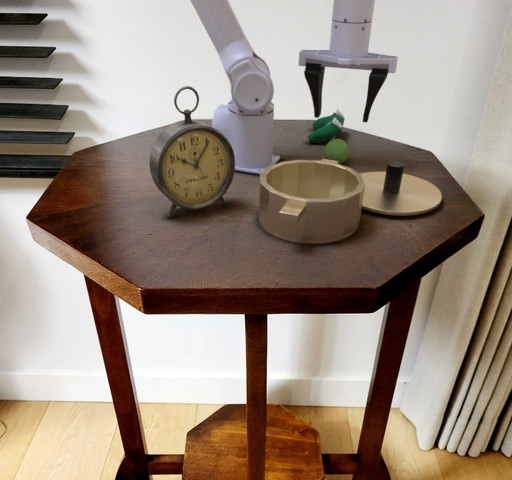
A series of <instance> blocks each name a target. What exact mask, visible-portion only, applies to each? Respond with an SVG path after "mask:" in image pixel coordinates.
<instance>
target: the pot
mask: <svg viewBox="0 0 512 480" xmlns="http://www.w3.org/2000/svg"><path fill="white" fill-rule="evenodd" d="M360 174H361V173H359V172H358V171H356V170H354V169H353V168H352V167H349V166H345V165H342V164H341V163H340V164H338V161H334V160H328V159H326V158H322V159H321V160H320V159H294V160H293V159H292V160H287V161H280V162H277V163H276V164H275V165H273V166H270V167H267V168H266V169H265V170H264V171H263V172H262V173H261V174H259V191H258V192H259V193H258V218H259V219H258V221H259V224H260V226H261V227H262V229H263V230H264V231H265V232H267V233H268V234H270V235H271V236H273V237H274V238H275V237H276V238H278V239H280V240H283V241H285V242H290V243H294V244H295V243H296V244H302V245H325V244H332V243H336V242H339V241H340V242H341V241H342V240H346V239H348V238H349V237H351V236H352V235H353V234H355V233H356V232H357V230H358V227H359V225H360V221H361V216H362V210H363V209H362V202H363V196H364V189H365V182H364V180H363V177H362V176H361V175H360Z"/></svg>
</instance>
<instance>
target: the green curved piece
mask: <svg viewBox="0 0 512 480" xmlns="http://www.w3.org/2000/svg"><path fill="white" fill-rule="evenodd" d="M344 123H345V116H344V113H342V111H340V110H339V108H336V110H335V112H332V114H331V115H327V116H322V117H319V118H317V119H316V120H314V121H313V123H312V128H313V131H311V132H310V133H309V135H308V136H307V140H308V142H309V144H317V143H322V142H326V141H331V140H333V139H336V137H337V136H338V135H339V134H340V133H341V131H342V130H343V127H344Z"/></svg>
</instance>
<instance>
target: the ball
mask: <svg viewBox="0 0 512 480" xmlns="http://www.w3.org/2000/svg"><path fill="white" fill-rule="evenodd" d="M349 153H350V149H349V146H348V143H347V142H346V141H345V140H344V139H341V138H334V139H333V140H329V141H328V142H327V143H326V145H325V147H324V157H325V159H328V160H334V161H338V164H340V165H341V164H342V163H344V162H345V161H346V160H347V159H348V157H349V155H350V154H349Z"/></svg>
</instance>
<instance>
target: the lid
mask: <svg viewBox="0 0 512 480" xmlns="http://www.w3.org/2000/svg"><path fill="white" fill-rule="evenodd" d="M404 169H405V163H404V162H402V161H398V160H390V161H388V162H387V163H386V168H385V171H369V172H362V173H361V172H360V173H359V174H360V175H361V176H362V177H363V180H364V182H365V189H364V196H363V202H362V209H361V210H366V211H368V212H372V213H375V214H381V215H388V216H417V215H422V214H426V213H429V212H432V211H433V210H435V209H437V208H439V206H440V205H441V203H442V199H443V195H442V192H441V190H440V189H439V188H438V187H437V186H436V185H434V184H433V183H431V182H430V181H428V180H426V179H423V178H420V177H418V176H414V175H411V174H407V173H404Z"/></svg>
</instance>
